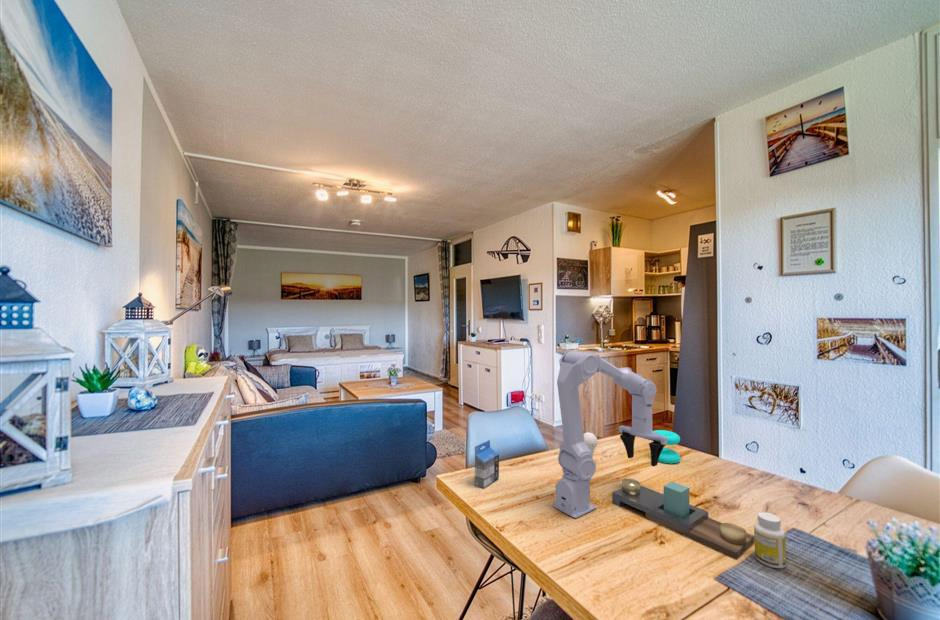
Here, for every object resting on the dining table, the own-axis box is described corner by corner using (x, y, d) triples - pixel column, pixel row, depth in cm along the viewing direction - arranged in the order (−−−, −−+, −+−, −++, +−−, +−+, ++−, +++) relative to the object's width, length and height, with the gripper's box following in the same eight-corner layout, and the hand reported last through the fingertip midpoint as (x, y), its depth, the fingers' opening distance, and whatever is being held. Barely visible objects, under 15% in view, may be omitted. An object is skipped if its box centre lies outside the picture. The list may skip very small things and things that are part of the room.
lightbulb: (586, 466, 134) (586, 435, 134) (577, 460, 140) (577, 430, 140) (601, 464, 136) (600, 434, 136) (591, 458, 142) (591, 429, 142)
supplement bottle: (771, 553, 86) (770, 510, 86) (792, 569, 80) (792, 523, 80) (748, 553, 85) (748, 510, 86) (768, 569, 80) (767, 523, 80)
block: (681, 527, 96) (681, 492, 96) (663, 519, 99) (663, 485, 100) (689, 522, 98) (689, 487, 99) (672, 514, 102) (671, 481, 102)
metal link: (688, 537, 91) (688, 515, 91) (612, 502, 108) (612, 484, 108) (708, 523, 98) (708, 502, 98) (633, 492, 115) (633, 474, 115)
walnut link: (736, 559, 83) (736, 542, 83) (645, 517, 100) (645, 503, 100) (754, 542, 90) (754, 525, 90) (666, 505, 107) (666, 492, 107)
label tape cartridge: (484, 489, 117) (484, 449, 117) (474, 485, 119) (474, 447, 119) (499, 479, 124) (499, 442, 124) (489, 476, 126) (489, 439, 126)
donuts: (659, 437, 136) (645, 429, 146) (659, 465, 136) (645, 454, 146) (686, 437, 137) (669, 428, 147) (686, 464, 136) (669, 454, 146)
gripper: (672, 420, 112) (672, 466, 112) (627, 410, 124) (627, 451, 123) (660, 424, 108) (660, 471, 108) (615, 413, 119) (615, 456, 119)
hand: (642, 461), depth 115 cm, fingers open, 7 cm apart
